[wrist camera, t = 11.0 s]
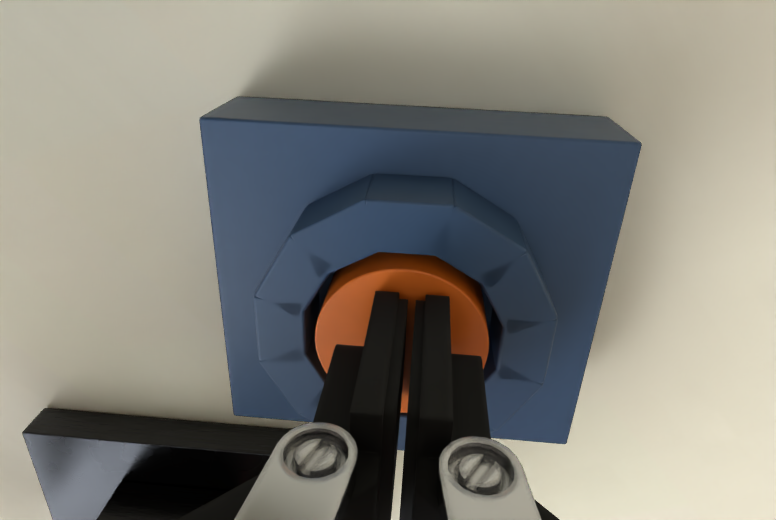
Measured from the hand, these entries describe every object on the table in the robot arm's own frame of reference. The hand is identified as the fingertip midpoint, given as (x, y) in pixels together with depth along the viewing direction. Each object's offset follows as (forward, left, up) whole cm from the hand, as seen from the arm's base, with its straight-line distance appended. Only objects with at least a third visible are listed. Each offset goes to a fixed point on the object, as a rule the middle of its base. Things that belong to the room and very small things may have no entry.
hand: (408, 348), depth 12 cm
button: (0, 0, -2) cm, 2 cm away
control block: (0, 0, -5) cm, 5 cm away
